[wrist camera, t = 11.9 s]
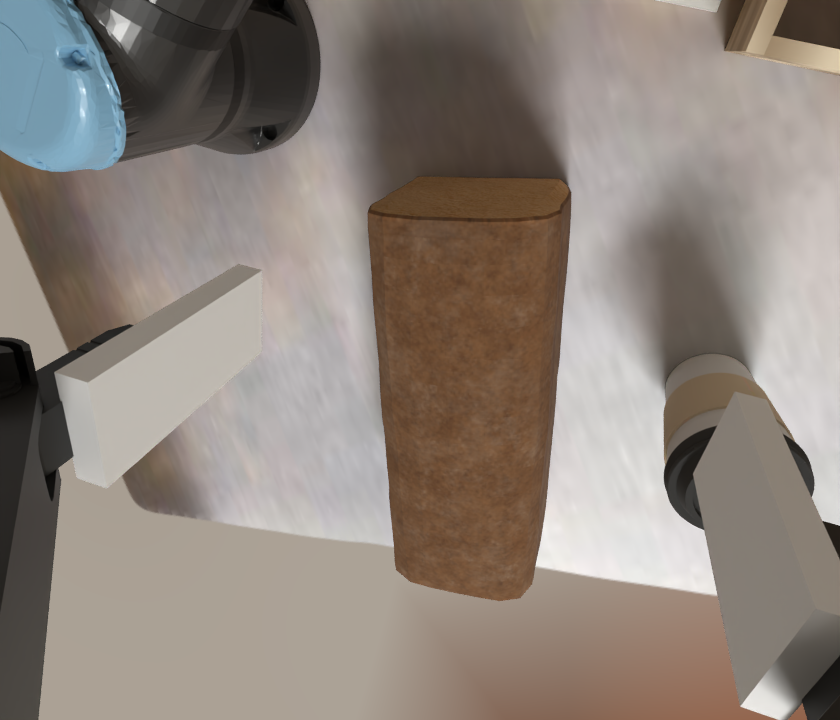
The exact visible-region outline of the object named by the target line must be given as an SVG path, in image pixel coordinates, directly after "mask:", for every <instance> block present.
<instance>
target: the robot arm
mask: <svg viewBox="0 0 840 720" xmlns="http://www.w3.org/2000/svg"><path fill="white" fill-rule="evenodd" d="M319 80H320V51H319V44H318V39H317V34H316V30H315V27H314V24H313V21H312V18H311V15H310V13H309V11H308V8H307V6H306V4H305V2H304V0H0V150H1V151H3V152H4V153H6V154H7V155H9V156H11V157H12V158H14V159H16V160H18V161H20V162H22V163H24V164H26V165H29V166H32V167H35V168H38V169H41V170H49V171H56V172H67V171H74V170H82V169H93V170H101V169H105V168H108V167H109V166H113V163H118V162H122V161H126V160H130V159H134V158H139V157H143V156H147V155H151V154H156V153H160V152H164V151H168V150H172V149H177V148H181V147H185V146H189V145H193V144H197V145H200V146H203V147H206V148H210V149H213V150H216V151H220V152H223V153H228V154H253V153H257V152H261V151H264V150H268V149H271V148H274V147H276V146H279V145H280V144H282V143H284V142H286V141H287V140H289V139H290V138H291V137H292V136H293V135H294V134H295V133H296V132H297V131H298V130H299V129H300V128H301V127H302V125H303V124H304V123H305V121H306V119H307V118H308V116H309V114H310V112H311V110H312V107H313V105H314V102H315V99H316V96H317V92H318V87H319ZM261 352H262V270H259V269H256V268H252V267H248V266H244V265H240V264H238V265H236V266H235V267H233V268H231V269H229V270H228V271H226V272H224V273H223V274H221V275H219V276H217V277H216V278H214V279H212V280H211V281H209V282H207V283H206V284H204V285H202V286H200V287H199V288H197V289H195V290H194V291H192V292H190V293H189V294H187V295H185V296H183V297H182V298H180V299H178V300H177V301H175V302H173V303H171V304H170V305H168V306H166V307H165V308H163V309H161V310H160V311H158V312H156V313H154V314H153V315H151V316H149V317H148V318H146V319H144V320H142V321H141V322H139V323H137V324H136V325H130V324H129V325H126V326H122V327H119V328H115V329H112V330H108V331H106V332H105V333H103V334H101V335H99V336H97V337H96V338H94V339H92V340H91V342H90V343H88V342H87V343H85V344H83V345H82V346H80V347H78V348H77V350H76V351H75V350H73V351H71V352H69V353H67V354H66V355H64V356H62V357H60V358H59V359H57V360H55V361H53V362H52V363H50V364H48V365H47V366H44V367H43V368H41V369H39V370H37V371H35V366H34V362H33V358H32V353H31V349H30V346H29V344H27V343H26V342H24V341H23V340H19V339H15V338H4V337H0V720H38V716H39V706H40V696H41V685H42V675H43V664H44V654H45V653H44V652H45V643H46V632H47V622H48V612H49V601H50V591H51V580H52V570H53V569H52V568H53V560H54V549H55V539H56V528H57V517H58V506H59V496H60V486H61V478H60V474H59V470H58V468H59V467H60V466H61V465H63V464H64V463H65V462H67V461H68V460H69V459H71V458H73V462H74V466H75V472H76V476H77V478H78V479H81V480H84V481H87V482H90V483H93V484H95V485H99V486H101V487H104V488H108V487H109V486H110V485H111V484H113V483H114V482H115V481H116V480H117V479H118V478H119V477H121V476H122V475H123V474H124V473H125V472H126V471H127V470H128V469H130V468H131V467H132V466H133V465H134V464H135V463H136V462H138V461H139V460H140V459H141V458H142V457H143V456H144V455H146V454H147V453H148V452H149V451H150V450H151V449H152V448H153V447H155V446H156V445H157V444H158V443H159V442H160V441H161V440H163V439H164V438H165V437H166V436H167V435H168V434H169V433H170V432H172V431H173V430H174V429H175V428H176V427H177V426H178V425H180V424H181V423H182V422H183V421H184V420H185V419H186V418H188V417H189V416H190V415H191V414H192V413H193V412H194V411H195V410H197V409H198V408H199V407H200V406H201V405H202V404H203V403H205V402H206V401H207V400H208V399H209V398H210V397H211V396H212V395H214V394H215V393H216V392H217V391H218V390H219V389H220V388H222V387H223V386H224V385H225V384H226V383H227V382H228V381H230V380H231V379H232V378H233V377H234V376H235V375H236V374H237V373H239V372H240V371H241V370H242V369H243V368H244V367H245V366H247V365H248V364H249V363H250V362H251V361H252V360H253V359H254V358H256V357H257V356H258V355H259V354H260V353H261ZM693 476H694V481H695V486H696V491H697V496H698V501H699V506H700V511H701V516H702V521H703V526H704V531H705V536H706V540H707V545H708V550H709V555H710V560H711V565H712V570H713V575H714V580H715V585H716V590H717V595H718V600H719V604H720V609H721V614H722V619H723V624H724V629H725V634H726V639H727V643H728V648H729V654H730V659H731V663H732V668H733V673H734V678H735V683H736V688H737V693H738V698H739V702H740V706H741V707H743V708H746V709H749V710H752V711H755V712H758V713H761V714H764V715H766V716H770V717H772V718H775V719H778V720H788V719H789V718H790V717H791V715H792V714H793V713H794V712H795V711H796V710H797V709H798V707H799V706H800V705H801V704H802V703H803V706H804V710H805V713H806V716H807V720H840V526H838V525H835V524H831V523H828V522H824V521H822V519H821V517H820V515H819V513H818V511H817V509H816V506H815V504H814V502H813V500H812V498H811V495H810V493H809V491H808V489H807V487H806V484H805V482H804V480H803V478H802V476H801V473H800V471H799V469H798V467H797V465H796V462H795V460H794V458H793V456H792V454H791V452H790V449H789V447H788V445H787V443H786V441H785V438H784V436H783V434H782V432H781V430H780V427H779V425H778V423H777V421H776V419H775V416H774V414H773V412H772V410H771V408H770V406H769V403H768V401H767V400H766V399H762V398H758V397H754V396H751V395H747V394H743V393H739V392H734V394H733V396H732V398H731V400H730V402H729V404H728V406H727V408H726V410H725V412H724V414H723V416H722V418H721V420H720V422H719V424H718V425H717V427H716V429H715V431H714V433H713V435H712V437H711V439H710V441H709V443H708V445H707V447H706V449H705V451H704V453H703V455H702V457H701V459H700V461H699V463H698V465H697V467H696V469H695V471H694V473H693Z"/></svg>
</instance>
